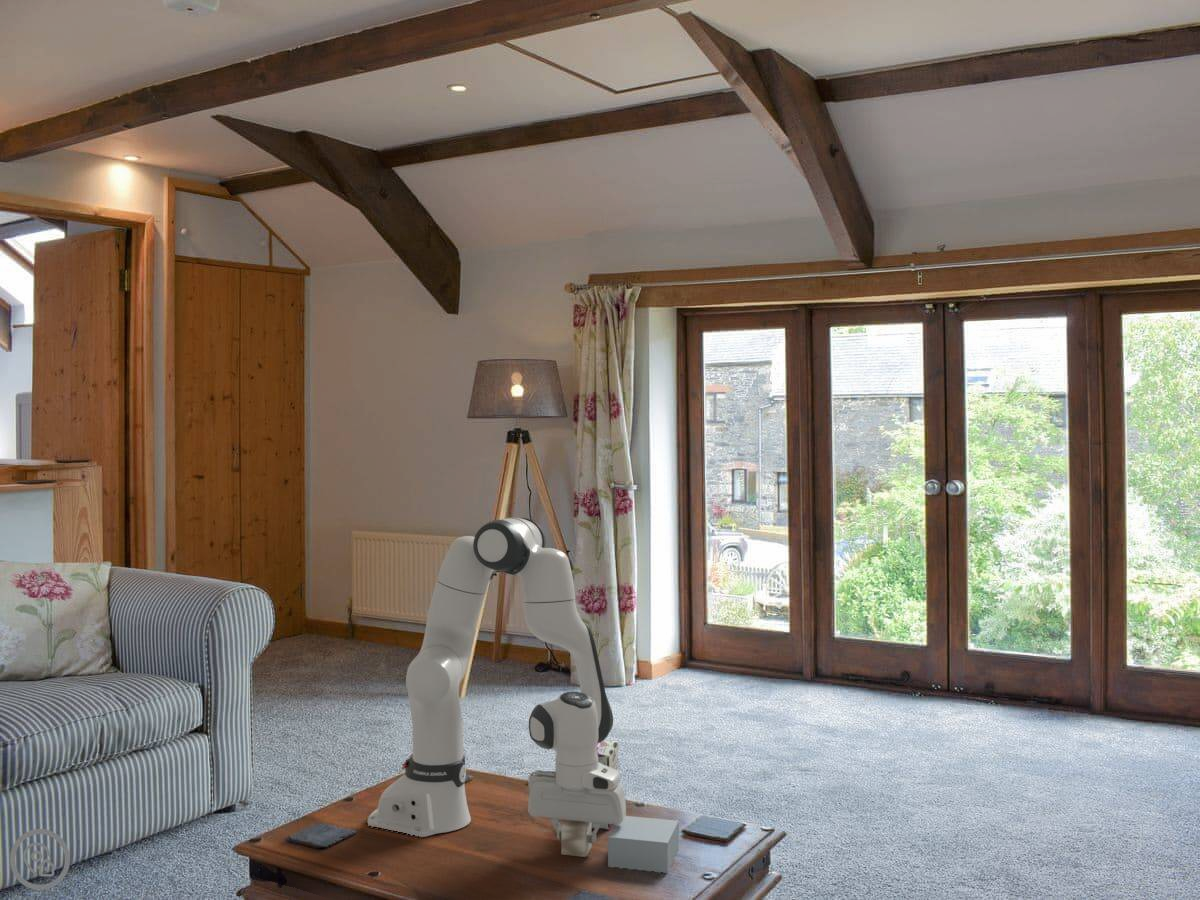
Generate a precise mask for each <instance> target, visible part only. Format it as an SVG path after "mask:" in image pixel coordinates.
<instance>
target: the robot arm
mask: <svg viewBox="0 0 1200 900" xmlns="http://www.w3.org/2000/svg"><path fill="white" fill-rule="evenodd" d="M546 543H547V542H546V536H545V532H544V530H543V529H542V527H541V526H540V525H539V524H538V523H536V522H535V521H534V520H531V519H529V518H526V517H506V518H505V517H504V518H501V519H494V520H491V521H489V522H487V523H485V524H483V525H482V526H481V527H480V528H479V529H478V530H477V532H476V533H475V536H473V535H464V536H459V537H457V538H456V539H454V540H453V541H452V542H451V544H450V546H449V549H448V550H447V553H446V555H445V556H444V559H443V561H442V564H441V566H440V569H439V572H438V576H437V579H436V581H435V582H436V583H435V585H434V589H433V593H432V597H431V600H430V603H429V607H428V611H427V618H426V624H425V625H426V626H425V629H424V630H425V631H424V637H423V640H422V644H421V648H420V651H419V652H418V653H417V655H416V656H415V657H414V658H413V660H411V662H410V664H409V665H408V667H407V670H406V677H405V686H406V690H407V693H408V694H407V695H408V697H407V698H408V702H409V703H408V704H409V709H410V716H411V723H412V724H411V726H412V728H411V729H412V732H411V733H412V754H410V756H409V757H408V758H407V759H406V760H405V761H404V763H402V764H401V770H405V773H404V774H403V775H402V776H400V777H399V778H398V779H396V780H395V781H394V782H393V783H392V784H390V785H389V786H388V787H386V789H384V790H383V791H382V793H381V795H380V798H379V801H378V806H377V808H376V809H375V810H374V811H372V812H371V814H369V816H368V817H367V821H366V822H367V823H368V825H371V826H376V827H381V828H384V829H389V830H394V831H398V832H403V833H407V834H406V835H408V834H410V835H409V836H413V835H415V836H414V837H418V836H419V838H426V837H429V836H433V835H436V834H442V833H443V834H444V833H449V832H453V831H456V830H460V829H462V828H465V827H466V826H468V825H469V824H470V823H471V821H472V817H471V815H470V811H469V807H468V801H467V795H466V788H465V782H466V778H467V777H466V776H467V768H466V756H465V755H464V720H463V718H462V709H461V703H460V694H459V693H460V684H461V682H462V680H463V679H464V677H465V675H466V674H467V673H466V672H467V670H468V666H469V661H470V658H471V654H472V648H473V644H474V641H475V640H474V639H475V634H476V631H477V630H476V629H477V626H478V622H479V620H480V615H481V611H482V609H483V604H484V601H485V598H486V594H487V591H488V586H489V582H490V579H491V577H492V575H493V573H494V572H495V571H496V572H500V573H504V574H507V575H511V576H515V575H517V576H518V577H519V578H520V580H521V584H522V594H523V595H522V596H523V615H524V621H525V624H526V627H527V629H528V631H529V632H530V633H531V634H532V635H533V636H535V637H536V638H537V639H538V640H541V641H542V642H545V643H548V644H551V645H554V646H556V647H560V648H563V649H565V650H567V651H568V652H569V654H571V656H572V658H573V660H574V664H575V670H576V674H577V678H578V679H577V680H578V683H579V688H580V691H566V692H564V693H562V694H560V695H558V698H557V699H554V700H551V701H546V702H542V703H539V704H536V705H535V707H534V708H533V709H532V711H531V713H530V715H529V719H528V731H529V737H530V739H531V740H532V741H533V743H535V744H536V745H537V746H538V747H540V748H542V749H546V750H554V751H555V758H554V759H555V760H554V766H555V767H554V769H555V770H554V771H551V770H540V769H537V770H535V771H534V772H531V773H530V774H529V775H528V788H529V795H528V802H527V803H528V806H527V811H528V813H529V814H530V816H531V817H536V818H537V817H538V818H547V819H551V825H552V826H553V828H554V830H555V832H556V840H558V841H559V840H560V841H561V825H562V824H561V823H560V822H561V821H562V820H564V821H565V820H574V821H584V822H593V827H595V829H593V831H592V832H589V834H588V835H587V838H588V840H587V842H588V843H592V844H595V843H596V842H597V833H598V831H599V830H600V829H599V828H600V826H601V825H602V823H604V824H612V825H619V824H621V823H622V822H623V820H624V819H625V817H626V816H627V804H626V795H625V794H626V793H625V791H624V787H623V786H622V785H621V784H620V781H621V778H622V776H621V775H622V774H621V772H620V771H619V769H618V770H615V769H613V768H610V767H608V766H606V765H603V764H601V763H599V762H598V754H597V750H596V747H597V743H600V742H602V741H603V740H606V739H607V737H608V736H609V734H610V733H611V731H612V728H613V725H614V714H613V710H612V707H611V705H610V701H609V699H608V696H607V693H606V690H605V689H606V688H605V684H604V680H603V674H602V670H601V666H600V665H601V664H600V660H599V656H598V651H597V645H596V643H595V639H594V636H593V632H592V630H591V629H592V628H591V627H590V625H589V624H588V623H587V622H584V621H583V620H582V618H581V616H580V613H579V611H578V609H577V604H576V593H575V592H576V591H575V583H574V577H573V572H572V567H571V564H570V559H569V557H568V556H567V554H566V553H565V552H563V551H562V550H560V549H557V548H552V547H546ZM367 823H366V824H367ZM368 825H367V826H368ZM398 832H397V833H398ZM403 833H402V834H403Z"/></svg>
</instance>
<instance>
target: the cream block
mask: <svg viewBox="0 0 1200 900" xmlns="http://www.w3.org/2000/svg"><path fill="white" fill-rule="evenodd" d="M592 830H593V829H592V822H584V821H574V820H564V821H563V823H562V824H561V840H560V842H561V846H560V847H561V849H560V850H561V855H562V856H563V855H564V856H572V857H580V858H581V857H583V858H585V857H586V856H587V855H588V853H589V852H590V851H591V849H592V847H593V845H592V844H593V843H588V842H587V840H588V838H587V835H588V834H589V832H593V831H592Z"/></svg>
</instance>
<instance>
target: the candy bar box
mask: <svg viewBox="0 0 1200 900" xmlns="http://www.w3.org/2000/svg"><path fill="white" fill-rule="evenodd" d="M596 750H597V754H598V762H599V763H601V764H603V765H606V766H608V767H610V768H613V769H615V770H618V771H619V740H611V739H604V740H603V741H602V742H600V743H597V747H596ZM612 827H613V824H604V823H602V825H601V826H600V828H599V830H609V831H610V830H611V828H612ZM594 829H595V827H593V822H592V830H594Z"/></svg>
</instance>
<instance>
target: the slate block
mask: <svg viewBox="0 0 1200 900" xmlns="http://www.w3.org/2000/svg"><path fill="white" fill-rule="evenodd" d="M679 827H680V821H679V820H673V819H672V820H671V819H665V818H655V817H654V818H652V817H643V816H642V817H641V816H631V815H626V817H625V819H624V820H623V822H622V823H621V824H619V825H615V826H614V827H613V829H612V830H611V831H610V833H609V835H608V836H607V867H608V868H614V867H620V868H619V869H623V868H628V869H627V870H633V869H640V870H639V871H642V870H647V871H646V872H651V871H654V873H661V872H663V874H668V873H669V871H670V869H671V867H672V865H673V863H674V861H675V859H674V858H676V857H675V856H677V854H678V852H679V850H680V846H679V845H680V843H679V842H680V841H679V838H680V834H679V833H680V830H679V829H680V828H679ZM673 860H674V861H673ZM672 862H673V863H672Z"/></svg>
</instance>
